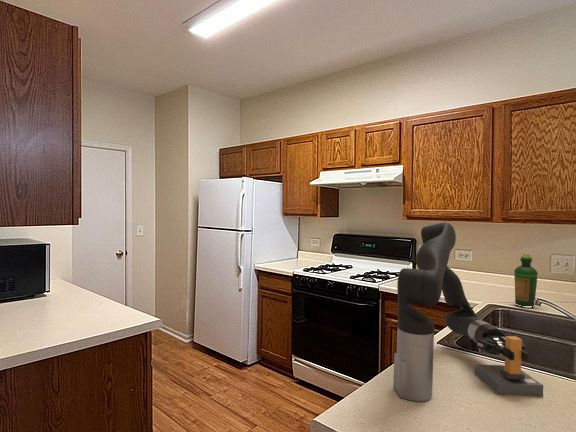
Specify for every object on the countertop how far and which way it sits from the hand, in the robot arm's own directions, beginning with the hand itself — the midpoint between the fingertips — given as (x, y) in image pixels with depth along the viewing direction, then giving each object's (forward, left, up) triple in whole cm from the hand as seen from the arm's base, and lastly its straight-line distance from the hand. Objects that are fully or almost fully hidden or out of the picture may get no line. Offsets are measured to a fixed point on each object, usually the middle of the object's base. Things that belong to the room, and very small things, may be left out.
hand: (519, 357), depth 98 cm
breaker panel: (0, +5, -10) cm, 11 cm away
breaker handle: (0, +3, -7) cm, 7 cm away
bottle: (+64, +96, -10) cm, 116 cm away
